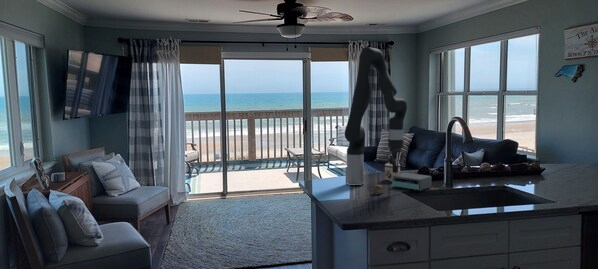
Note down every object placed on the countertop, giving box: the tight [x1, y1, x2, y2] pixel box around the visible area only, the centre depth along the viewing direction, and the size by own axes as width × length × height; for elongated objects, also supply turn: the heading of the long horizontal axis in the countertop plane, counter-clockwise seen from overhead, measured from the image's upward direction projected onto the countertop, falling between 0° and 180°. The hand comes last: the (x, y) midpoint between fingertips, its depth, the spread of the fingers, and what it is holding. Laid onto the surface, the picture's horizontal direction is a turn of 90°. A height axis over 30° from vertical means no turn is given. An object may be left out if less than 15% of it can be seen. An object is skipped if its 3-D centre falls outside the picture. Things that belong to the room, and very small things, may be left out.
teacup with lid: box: [384, 162, 401, 181], centre depth 240 cm, size 12×9×12 cm
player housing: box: [393, 172, 433, 192], centre depth 222 cm, size 16×12×6 cm
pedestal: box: [373, 184, 383, 195], centre depth 209 cm, size 4×4×4 cm
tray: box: [391, 179, 419, 191], centre depth 221 cm, size 15×12×3 cm
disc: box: [404, 180, 417, 184], centre depth 221 cm, size 6×6×2 cm
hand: (395, 172), depth 210 cm, fingers closed
